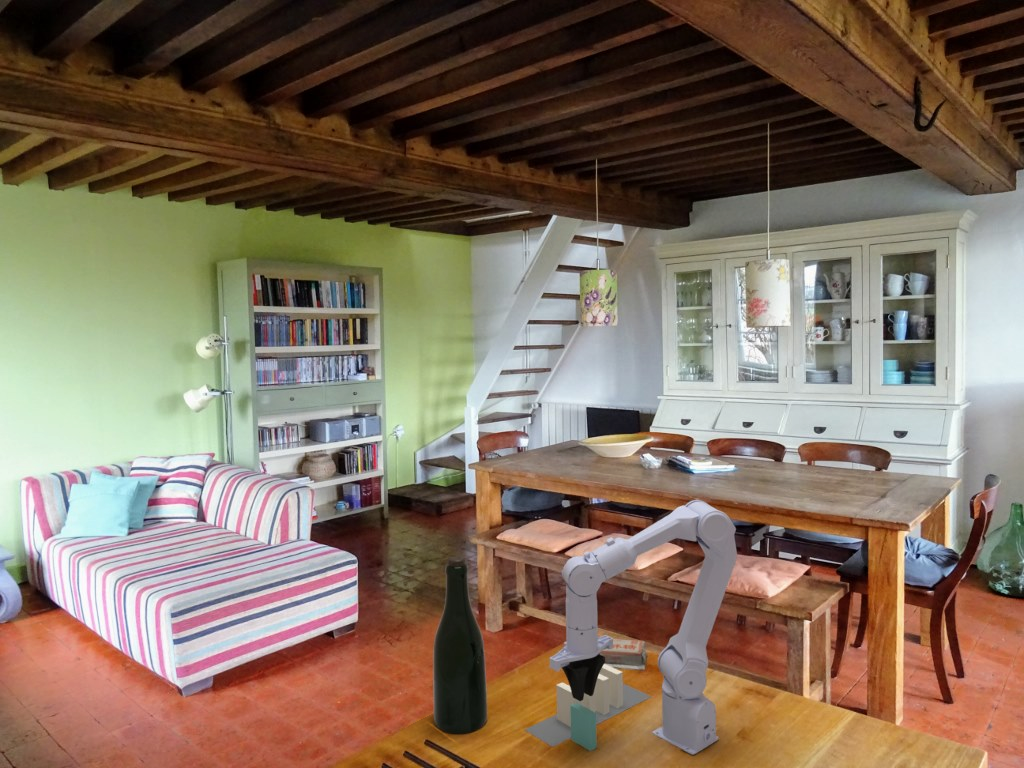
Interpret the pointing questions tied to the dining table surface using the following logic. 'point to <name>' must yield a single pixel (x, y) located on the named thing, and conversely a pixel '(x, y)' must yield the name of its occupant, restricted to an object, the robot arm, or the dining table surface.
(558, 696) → the domino
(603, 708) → the domino
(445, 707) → the beer bottle
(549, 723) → the mat
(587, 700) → the domino
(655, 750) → the dining table surface
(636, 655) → the packaged product
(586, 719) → the domino
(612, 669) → the domino
